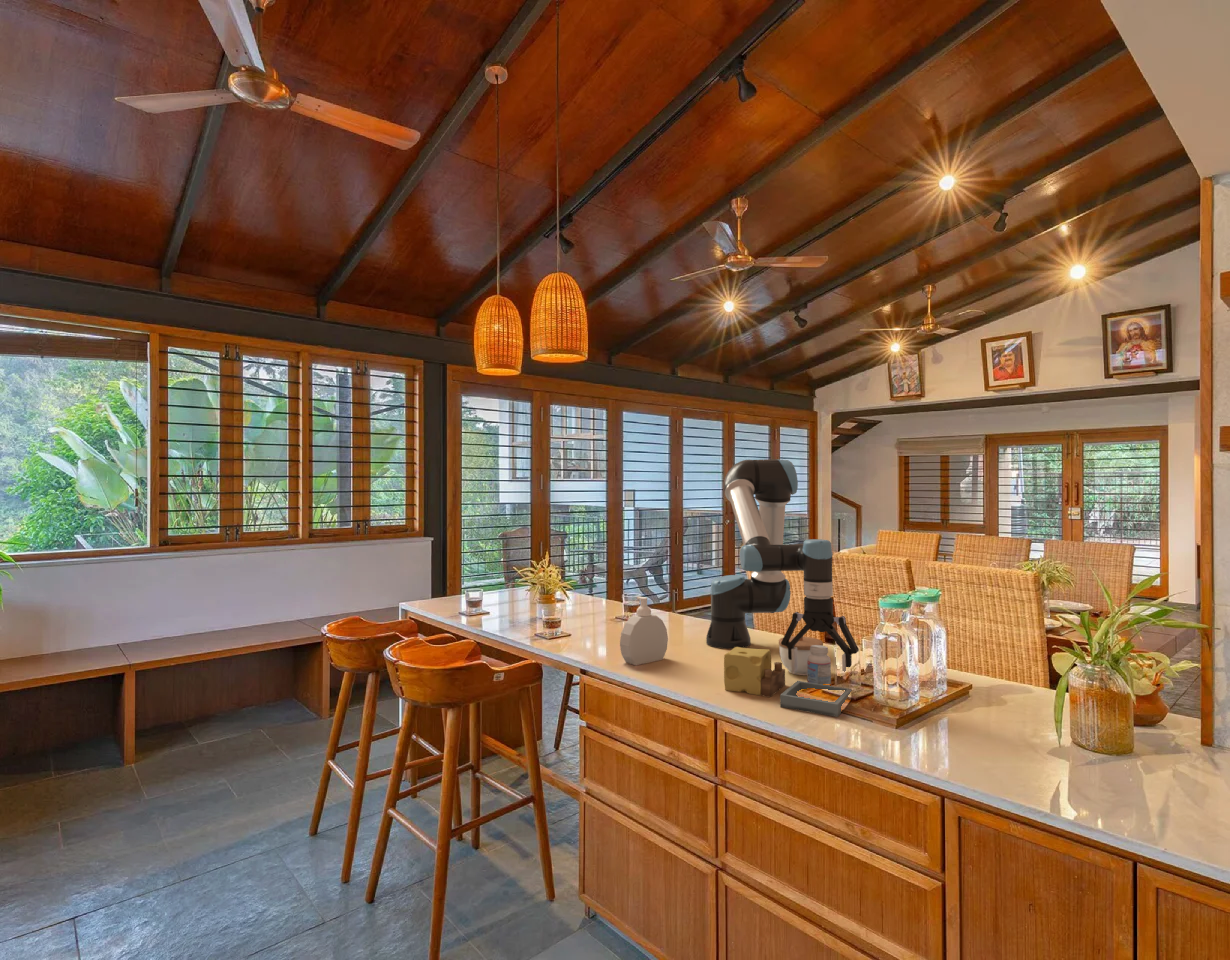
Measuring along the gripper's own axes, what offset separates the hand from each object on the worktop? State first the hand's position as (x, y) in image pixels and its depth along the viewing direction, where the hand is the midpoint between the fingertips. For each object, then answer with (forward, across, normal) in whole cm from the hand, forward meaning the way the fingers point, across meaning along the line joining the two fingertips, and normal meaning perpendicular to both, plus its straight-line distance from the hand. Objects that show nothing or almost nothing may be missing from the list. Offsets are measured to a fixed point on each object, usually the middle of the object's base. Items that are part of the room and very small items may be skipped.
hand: (819, 675), depth 181 cm
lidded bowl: (+4, -9, +13) cm, 16 cm away
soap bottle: (+3, -55, 0) cm, 55 cm away
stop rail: (+4, -10, -8) cm, 13 cm away
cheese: (+4, -17, -9) cm, 20 cm away
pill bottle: (+4, 0, 0) cm, 4 cm away
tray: (+4, +3, -13) cm, 14 cm away
